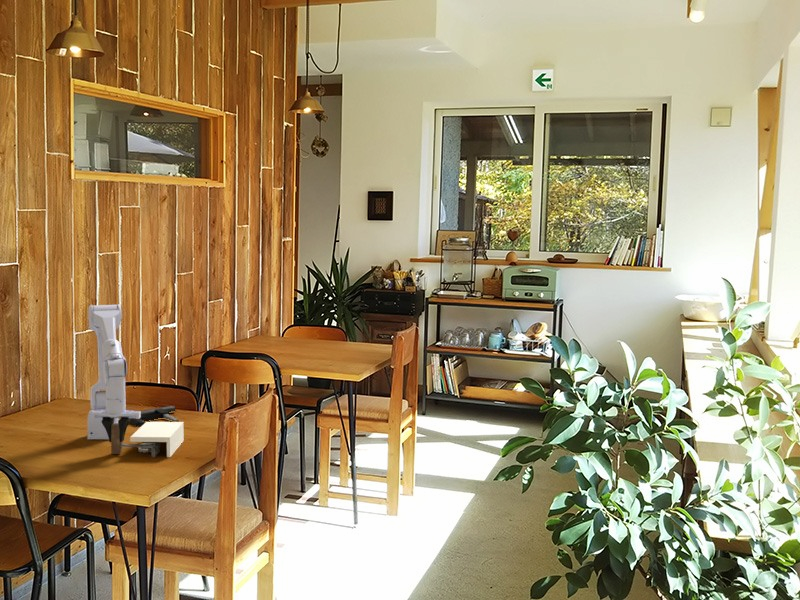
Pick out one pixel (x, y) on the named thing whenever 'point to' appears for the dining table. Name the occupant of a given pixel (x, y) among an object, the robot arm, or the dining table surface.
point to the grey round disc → (144, 450)
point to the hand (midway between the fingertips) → (116, 440)
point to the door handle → (154, 415)
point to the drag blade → (117, 445)
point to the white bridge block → (161, 434)
